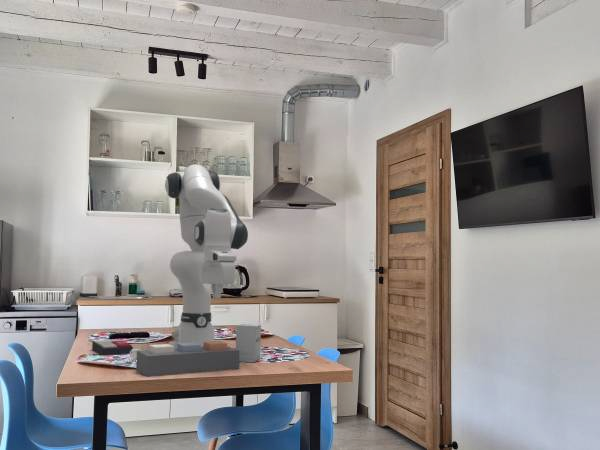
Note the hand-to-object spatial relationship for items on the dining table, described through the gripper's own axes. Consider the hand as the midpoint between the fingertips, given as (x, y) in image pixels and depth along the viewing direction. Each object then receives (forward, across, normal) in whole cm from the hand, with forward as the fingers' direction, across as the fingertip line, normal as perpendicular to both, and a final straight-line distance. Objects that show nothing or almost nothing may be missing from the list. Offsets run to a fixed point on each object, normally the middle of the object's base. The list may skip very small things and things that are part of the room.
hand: (216, 298), depth 187 cm
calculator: (+22, -48, -22) cm, 57 cm away
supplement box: (+23, -8, +16) cm, 29 cm away
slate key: (+19, 0, -9) cm, 21 cm away
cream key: (+19, 0, -18) cm, 26 cm away
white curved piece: (+23, -22, -20) cm, 38 cm away
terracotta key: (+19, 0, 0) cm, 19 cm away
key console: (+22, 0, -9) cm, 24 cm away
